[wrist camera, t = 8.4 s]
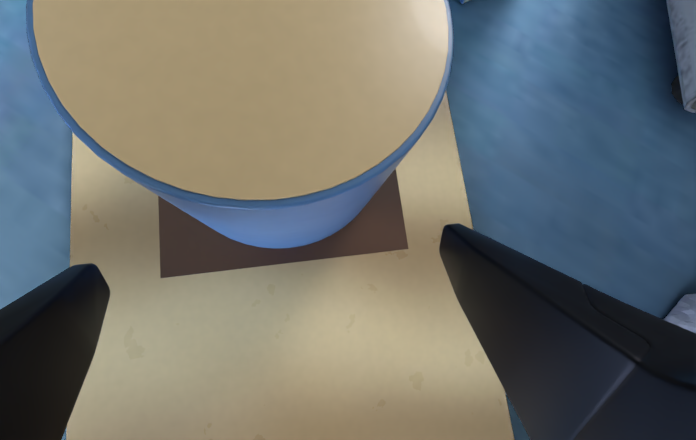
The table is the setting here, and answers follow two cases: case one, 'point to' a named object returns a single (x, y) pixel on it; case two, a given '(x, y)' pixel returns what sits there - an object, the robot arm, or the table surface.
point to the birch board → (283, 318)
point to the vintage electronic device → (684, 51)
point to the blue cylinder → (248, 100)
